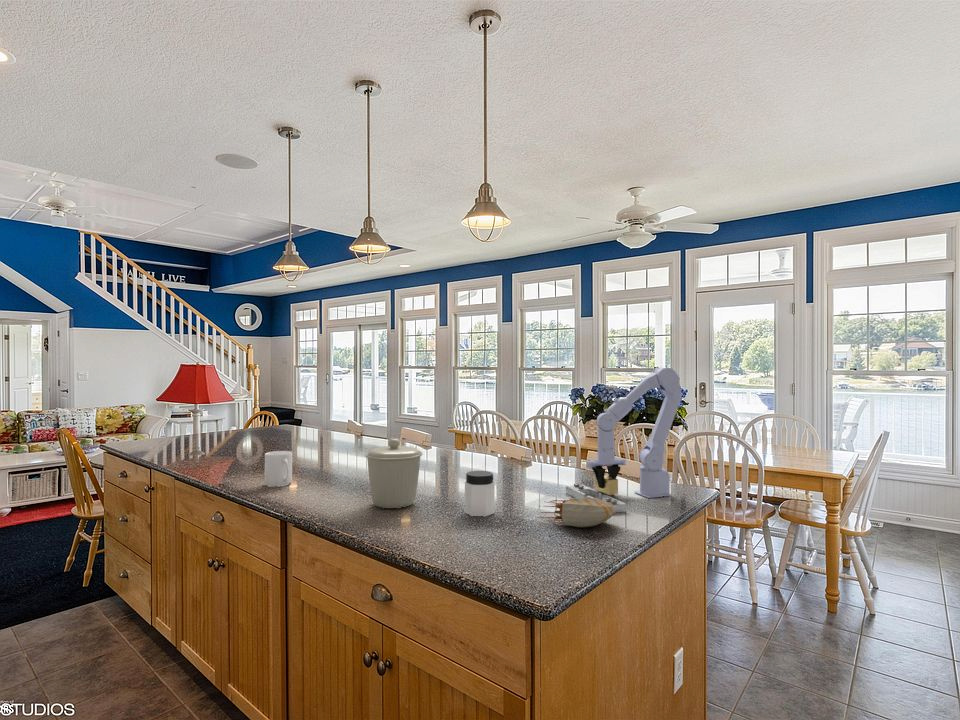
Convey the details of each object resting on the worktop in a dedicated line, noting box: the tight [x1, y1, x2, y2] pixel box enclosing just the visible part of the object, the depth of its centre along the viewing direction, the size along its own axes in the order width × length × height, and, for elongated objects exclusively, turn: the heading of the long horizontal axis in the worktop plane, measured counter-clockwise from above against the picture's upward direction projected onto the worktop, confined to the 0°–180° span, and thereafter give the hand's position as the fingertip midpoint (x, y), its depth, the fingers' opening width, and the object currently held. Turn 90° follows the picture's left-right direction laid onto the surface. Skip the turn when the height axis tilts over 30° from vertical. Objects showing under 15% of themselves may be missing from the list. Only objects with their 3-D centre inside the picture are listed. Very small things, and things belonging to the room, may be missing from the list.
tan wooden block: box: [594, 474, 619, 496], centre depth 182 cm, size 4×9×5 cm, turn 19°
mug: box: [264, 450, 293, 486], centre depth 194 cm, size 10×12×12 cm
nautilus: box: [537, 497, 616, 529], centre depth 149 cm, size 8×22×15 cm
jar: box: [464, 470, 495, 518], centre depth 159 cm, size 9×8×12 cm
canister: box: [364, 438, 424, 509], centre depth 168 cm, size 18×18×21 cm
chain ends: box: [565, 483, 627, 514], centre depth 172 cm, size 7×26×3 cm, turn 19°
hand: (606, 487), depth 182 cm, fingers closed on tan wooden block, 3 cm apart
